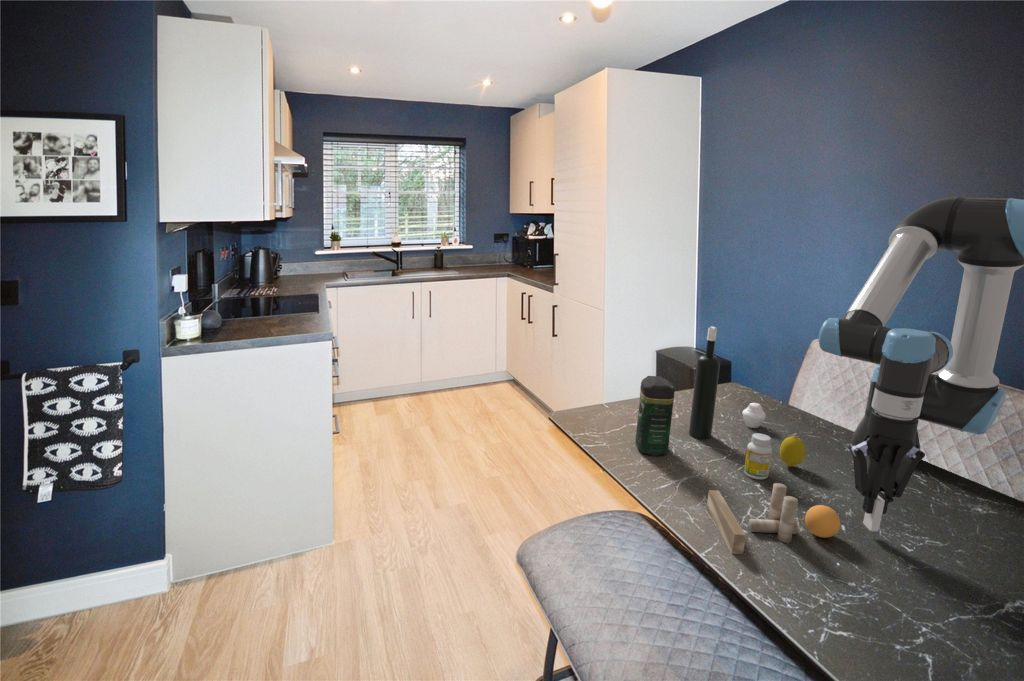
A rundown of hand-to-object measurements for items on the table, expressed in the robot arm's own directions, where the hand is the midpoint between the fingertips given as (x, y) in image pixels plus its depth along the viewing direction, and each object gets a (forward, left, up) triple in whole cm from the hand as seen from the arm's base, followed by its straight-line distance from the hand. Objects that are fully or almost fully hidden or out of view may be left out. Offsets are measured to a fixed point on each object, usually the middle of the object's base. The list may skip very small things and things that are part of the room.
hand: (870, 527), depth 114 cm
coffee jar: (+35, -36, -2) cm, 50 cm away
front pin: (+14, 0, -1) cm, 14 cm away
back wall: (+28, 0, -2) cm, 28 cm away
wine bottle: (+20, -46, -2) cm, 50 cm away
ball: (+10, 0, +1) cm, 10 cm away
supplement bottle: (+13, -24, -2) cm, 27 cm away
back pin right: (+17, -2, -2) cm, 18 cm away
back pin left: (+17, +2, -2) cm, 18 cm away
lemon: (+3, -29, -2) cm, 29 cm away
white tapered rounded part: (+3, -54, -2) cm, 54 cm away
